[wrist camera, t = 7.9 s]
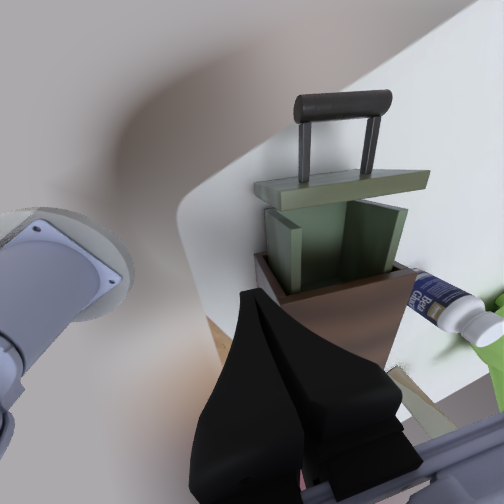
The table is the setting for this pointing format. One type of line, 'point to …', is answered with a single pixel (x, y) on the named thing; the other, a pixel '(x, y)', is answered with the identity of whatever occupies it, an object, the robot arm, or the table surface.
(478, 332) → the pill bottle
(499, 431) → the robot arm
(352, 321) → the cabinet
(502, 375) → the teapot
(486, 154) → the table surface
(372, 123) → the drawer
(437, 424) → the box
